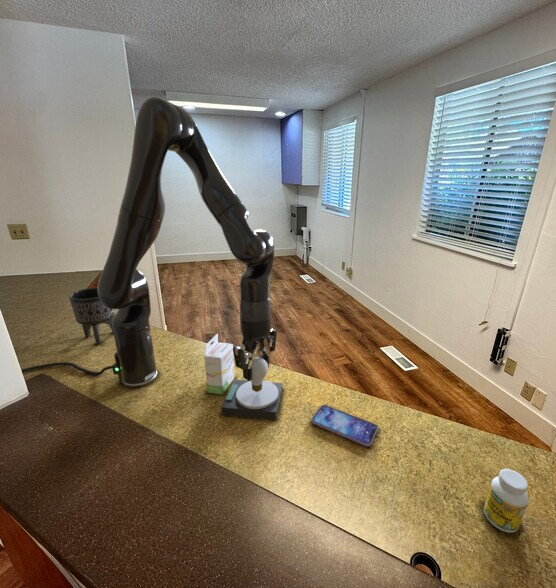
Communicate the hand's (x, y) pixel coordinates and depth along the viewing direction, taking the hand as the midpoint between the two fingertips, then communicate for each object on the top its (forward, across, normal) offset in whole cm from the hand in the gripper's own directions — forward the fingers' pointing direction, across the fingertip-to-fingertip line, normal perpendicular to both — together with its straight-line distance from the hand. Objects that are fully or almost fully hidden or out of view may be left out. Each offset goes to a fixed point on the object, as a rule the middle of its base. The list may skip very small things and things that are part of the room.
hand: (256, 373), depth 79 cm
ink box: (+9, +1, -13) cm, 16 cm away
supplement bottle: (+9, -3, +56) cm, 57 cm away
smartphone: (+9, -6, +23) cm, 26 cm away
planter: (+9, +9, -71) cm, 72 cm away
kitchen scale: (+9, 0, -1) cm, 9 cm away
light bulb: (+6, 0, 0) cm, 6 cm away
